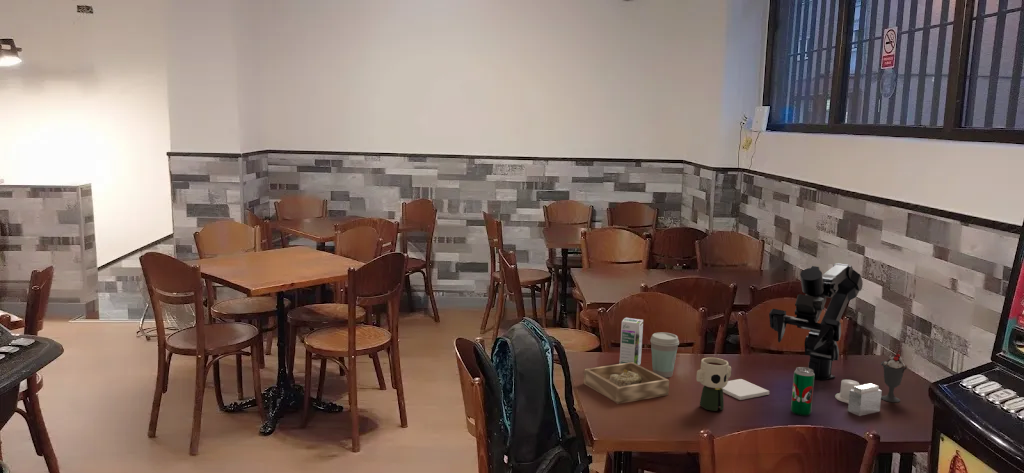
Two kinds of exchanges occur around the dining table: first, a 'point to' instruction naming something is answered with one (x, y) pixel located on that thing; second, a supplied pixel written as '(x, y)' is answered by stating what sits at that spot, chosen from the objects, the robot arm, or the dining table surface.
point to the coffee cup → (664, 353)
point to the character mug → (713, 382)
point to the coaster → (743, 389)
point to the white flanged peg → (846, 390)
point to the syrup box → (631, 341)
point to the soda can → (802, 391)
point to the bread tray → (646, 389)
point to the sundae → (893, 375)
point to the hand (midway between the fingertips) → (795, 344)
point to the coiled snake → (625, 378)
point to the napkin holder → (864, 399)
